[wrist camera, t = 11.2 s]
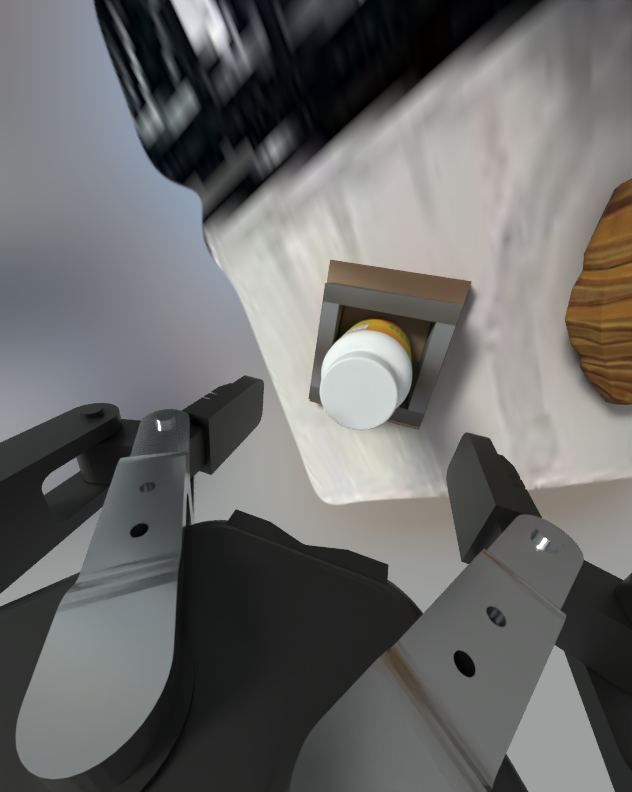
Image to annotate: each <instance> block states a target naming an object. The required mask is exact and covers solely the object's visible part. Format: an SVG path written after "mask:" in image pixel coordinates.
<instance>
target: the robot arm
mask: <svg viewBox="0 0 632 792" xmlns="http://www.w3.org/2000/svg"><path fill="white" fill-rule="evenodd" d="M263 391H264V383H263V380H261V379H257V378H253V377H249V376H243V377H241V378H240V379H238V380H237V381H235V382H234V383H230V384H227V385H223V386H220V387H218V388H216V389H215V390H213V391H212V392H211V393H209V394H207V395H205V396H204V398H201V399H199V400H198V401H196V402H195V403H193V404H191V405H190V406H188V407H187V408H185V409H184V410H182V411H180V410H174V409H167V410H159V411H155V412H153V413H150V414H148V415H147V416H145V417H144V418H143V419H142V420H141V421H139V420H126V419H121V417H120V412H119V409H118V407H117V406H115V405H112V404H108V403H94V404H88V405H83V406H80V407H77V408H75V409H72V410H71V411H68V412H66V413H64V414H62V415H59V416H57V417H55V418H53V419H51V420H49V421H46V422H44V423H42V424H40V425H38V426H35V427H33V428H31V429H29V430H27V431H25V432H22V433H20V434H18V435H16V436H14V437H12V438H9V439H8V440H5V441H3V442H1V443H0V593H1V592H3V591H4V590H5V589H6V588H7V587H9V586H10V585H11V584H12V583H13V582H15V581H16V580H17V579H18V578H19V577H20V576H22V575H23V574H24V573H25V572H26V571H27V570H29V569H30V568H31V567H32V566H33V565H34V564H36V563H37V562H38V561H39V560H40V559H42V558H43V557H44V556H45V555H46V554H47V553H49V552H50V551H51V550H52V549H53V548H54V547H56V546H57V545H58V544H59V543H60V542H61V541H63V540H64V539H65V538H66V537H67V536H68V535H70V534H71V533H72V532H73V531H74V530H75V529H77V528H78V527H79V526H80V525H81V524H82V523H84V522H85V521H86V520H87V519H88V518H89V517H91V516H92V515H93V514H94V513H95V512H97V511H98V510H99V509H100V508H101V507H103V508H102V510H101V513H100V517H99V519H98V522H97V525H96V528H95V531H94V534H93V537H92V540H91V542H90V545H89V548H88V551H87V554H86V557H85V560H84V563H83V566H82V569H81V571H80V572H79V573H77V574H74V575H72V576H70V577H68V578H65V579H63V580H61V581H58V582H56V583H54V584H52V585H49V586H47V587H44V588H42V589H40V590H38V591H35V592H33V593H31V594H28V595H26V596H24V597H21V598H19V599H17V600H15V601H12V602H10V603H7V604H5V605H3V606H0V792H528V790H527V789H526V787H525V785H524V783H523V782H522V780H521V778H520V776H519V775H518V773H517V771H516V770H515V768H514V766H513V764H512V763H511V761H510V759H509V758H508V756H507V754H506V752H507V750H508V748H509V746H510V743H511V741H512V739H513V737H514V734H515V732H516V730H517V728H518V725H519V723H520V721H521V719H522V716H523V714H524V712H525V710H526V707H527V705H528V703H529V701H530V698H531V696H532V694H533V692H534V689H535V687H536V685H537V683H538V680H539V678H540V676H541V674H542V671H543V669H544V667H545V665H546V662H547V660H548V658H549V656H550V654H551V651H552V649H553V647H554V645H556V646H557V647H559V648H560V649H562V650H563V651H564V652H565V655H566V658H567V660H568V663H569V666H570V668H571V671H572V674H573V677H574V680H575V683H576V685H577V688H578V691H579V694H580V696H581V699H582V702H583V705H584V707H585V710H586V713H587V715H588V718H589V721H590V724H591V727H592V729H593V732H594V735H595V738H596V741H597V743H598V746H599V749H600V751H601V754H602V757H603V759H604V762H605V765H606V768H607V771H608V774H609V776H610V779H611V782H612V785H613V787H614V790H615V792H632V573H631V574H630V575H629V576H628V577H627V578H626V579H625V580H622V579H620V578H618V577H616V576H614V575H612V574H610V573H608V572H606V571H604V570H602V569H600V568H599V567H596V566H595V565H592V564H590V563H589V562H587V561H585V560H584V558H583V554H582V551H581V550H580V548H579V547H578V545H577V544H576V543H575V542H574V541H573V539H572V538H571V537H570V536H569V535H567V534H566V533H565V532H564V531H562V530H561V529H560V528H558V527H557V526H555V525H554V524H552V523H550V522H548V521H547V520H544V519H542V517H541V515H540V514H539V511H538V510H537V508H536V506H535V504H534V502H533V500H532V499H531V497H530V495H529V493H528V491H527V490H526V489H525V486H524V484H523V482H522V480H520V476H519V474H518V473H517V471H516V469H515V467H514V466H513V465H512V464H511V463H510V462H509V461H508V460H507V459H506V458H505V457H504V456H502V455H499V454H497V452H496V450H495V448H494V446H493V444H492V441H491V440H490V438H487V437H483V436H479V435H475V434H472V433H468V432H466V433H465V434H464V435H463V436H462V438H461V440H460V442H459V445H458V447H457V449H456V451H455V453H454V456H453V458H452V460H451V462H450V464H449V467H448V471H447V478H446V480H447V487H448V492H449V497H450V503H451V508H452V513H453V519H454V523H455V529H456V535H457V540H458V545H459V551H460V556H461V561H462V562H464V563H467V564H469V565H468V566H467V567H466V568H465V569H464V570H463V571H462V572H461V573H460V575H459V576H458V577H457V578H456V579H455V580H454V581H453V582H452V583H451V584H450V585H449V586H448V588H447V589H446V590H445V591H444V592H443V593H442V594H441V595H440V596H439V597H438V598H437V599H436V600H435V602H434V603H433V604H432V605H431V606H430V607H429V608H428V609H427V610H426V611H425V612H424V613H422V611H421V610H420V609H419V608H418V607H417V606H416V604H415V603H414V602H413V601H412V600H411V599H410V598H409V597H408V596H407V595H406V594H405V593H404V592H403V591H402V590H401V589H399V588H398V587H397V586H396V585H395V584H393V583H392V582H390V581H389V580H387V578H388V564H385V563H382V562H379V561H377V560H374V559H371V558H368V557H366V556H363V555H360V554H358V553H354V552H352V551H349V550H344V549H336V548H326V547H317V546H309V545H305V544H302V543H300V542H299V541H298V540H296V539H295V538H293V537H292V536H290V535H289V534H287V533H286V532H284V531H283V530H282V529H280V528H279V527H277V526H276V525H274V524H273V523H271V522H269V521H267V520H264V519H261V518H258V517H255V516H253V515H250V514H247V513H244V512H242V511H239V510H235V511H234V513H233V514H232V516H231V517H230V519H229V520H228V521H227V520H214V521H205V522H200V523H196V524H195V477H194V475H195V474H196V473H197V472H198V471H202V472H204V473H207V474H210V475H212V474H213V473H214V471H215V470H216V469H217V468H218V467H219V466H220V465H221V464H222V463H223V462H224V461H225V460H226V459H227V458H228V457H229V455H230V454H231V453H232V452H233V451H234V450H235V449H236V448H237V447H238V446H239V445H240V444H241V443H242V442H243V441H244V440H245V439H246V437H247V436H248V435H249V434H250V433H251V432H252V431H253V430H254V429H255V428H256V427H257V426H258V424H259V422H260V420H261V417H262V411H263V393H264V392H263ZM75 457H76V458H77V461H78V464H79V467H80V470H81V471H79V472H78V473H77V474H75V475H74V476H72V477H70V478H69V479H68V480H66V481H65V482H63V483H62V484H60V485H59V486H57V487H56V488H54V489H53V490H51V491H50V492H48V493H47V494H45V495H43V493H42V484H43V481H44V480H45V478H46V477H47V476H48V475H49V474H50V473H51V472H52V471H54V470H56V469H57V468H59V467H61V466H62V465H64V464H66V463H67V462H69V461H70V460H72V459H74V458H75Z"/></svg>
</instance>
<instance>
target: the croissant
mask: <svg viewBox="0 0 632 792" xmlns="http://www.w3.org/2000/svg"><path fill="white" fill-rule="evenodd" d="M565 322H566V326H567V330H568V334H569V338H570V342H571V345H572V346H573V347H574V348H575V349H576V350H577V352H578V353H579V354H580V368H581V369H582V370H583V372H584V373H585V375H586V376H587V377H588V379H589V380H590V381H591V383H592V384H593V386H594V387H595V388H596V390H597V391H598V392H599V393H600V395H601V396H602V397H603V398H604V400H605V401H606V402H609V403H612V404H622V405H629V404H632V179H630V180H628V181H626V182H625V183H623V184H621V185H620V186H618V187H617V188H616V189H615V190H614V192H613V194H612V196H611V198H610V200H609V202H608V204H607V206H606V208H605V210H604V212H603V215H602V217H601V219H600V221H599V223H598V225H597V227H596V229H595V231H594V234H593V236H592V238H591V240H590V242H589V244H588V247H587V249H586V251H585V253H584V262H583V271H582V273H581V275H580V276H579V278H578V280H577V281H576V283H575V285H574V287H573V288H572V292H571V296H570V300H569V305H568V309H567V313H566V317H565Z"/></svg>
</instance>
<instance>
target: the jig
mask: <svg viewBox="0 0 632 792" xmlns="http://www.w3.org/2000/svg"><path fill="white" fill-rule="evenodd" d="M470 285H471V281H465V280H458V279H452V278H445V277H439V276H432V275H426V274H419V273H413V272H406V271H400V270H393V269H387V268H380V267H374V266H367V265H361V264H354V263H348V262H341V261H335V260H330V265H329V272H328V279H327V283H325V289H324V296H323V302H322V309H321V316H320V323H319V330H318V337H317V344H316V351H315V358H314V365H313V372H312V379H311V386H310V393H309V399H310V401H311V402H315V403H319V404H322V402H321V399H320V384H321V369H322V364H323V361H324V358H325V356H326V354H327V352H328V351H329V350H330V348H331V347H332V346H333V345H334V343H335V342H336V341H338V340H339V339H340V338H341V337H342V336H343V335H344V334H345V333H346V332H347V331H348V330H349V329H350V328H351V327H353V326H354V325H355V324H357V323H358V322H360V321H362V320H365V319H368V318H373V317H382V318H387V319H390V320H392V321H394V322H396V323H397V324H398V325H400V326H401V327H402V328H403V330H404V331H405V332H406V334H407V336H408V338H409V341H410V346H411V363H412V383H411V387H410V390H409V392H408V395H407V396H406V398H405V400H404V401H403V402H402V403H401V404H400V405H399V406H398V407H397V408H396V409H395V411H394V412H393V414H392V415H391V417H390V418H389V419H388V420H387V421H388V422H392V423H396V424H399V425H403V426H407V427H411V428H415V429H419V427H420V425H421V422H422V419H423V416H424V413H425V411H426V408H427V405H428V402H429V399H430V397H431V394H432V391H433V388H434V385H435V383H436V380H437V377H438V374H439V371H440V369H441V366H442V363H443V360H444V358H445V355H446V352H447V349H448V346H449V344H450V341H451V338H452V335H453V332H454V330H455V327H456V324H457V321H458V318H459V316H460V313H461V310H462V307H463V304H464V302H465V299H466V296H467V293H468V290H469V288H470Z"/></svg>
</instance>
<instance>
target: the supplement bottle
mask: <svg viewBox="0 0 632 792" xmlns="http://www.w3.org/2000/svg"><path fill="white" fill-rule="evenodd" d="M411 383H412V363H411V346H410V341H409V338H408V336H407V334H406V332H405V331H404V330H403V328H402V327H401V326H400V325H398V324H397V323H396V322H394V321H392V320H390V319H387V318H382V317H373V318H368V319H365V320H362V321H360V322H358V323H357V324H355V325H354V326H353V327H351V328H350V329H349V330H348V331H347V332H346V333H345V334H344V335H343V336H342V337H341V338H340V339H339V340H338V341H336V342H335V343H334V345H333V346H332V347H331V348H330V350H329V351H328V352H327V354H326V356H325V358H324V361H323V364H322V369H321V384H320V399H321V402H322V405H323V408H324V409H325V411H326V413H327V414H328V415H329V416H330V417H331V418H332V419H333V420H334V421H335V422H337V423H338V424H340V425H342V426H344V427H346V428H350V429H354V430H368V429H372V428H375V427H378V426H380V425H381V424H383V423H384V422H386V421H387V420H388V419H389V418H390V417H391V415H392V414H393V412H394V411H395V409H396V408H397V407H398V406H399V405H400V404H401V403H402V402H403V401H404V400H405V398H406V396H407V395H408V392H409V390H410V387H411Z"/></svg>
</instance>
